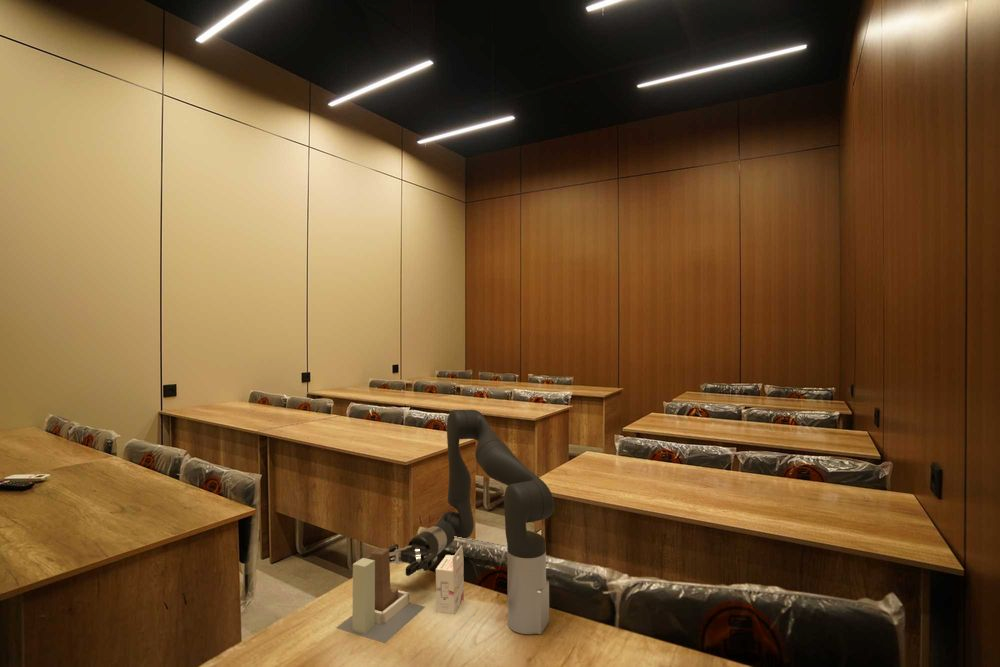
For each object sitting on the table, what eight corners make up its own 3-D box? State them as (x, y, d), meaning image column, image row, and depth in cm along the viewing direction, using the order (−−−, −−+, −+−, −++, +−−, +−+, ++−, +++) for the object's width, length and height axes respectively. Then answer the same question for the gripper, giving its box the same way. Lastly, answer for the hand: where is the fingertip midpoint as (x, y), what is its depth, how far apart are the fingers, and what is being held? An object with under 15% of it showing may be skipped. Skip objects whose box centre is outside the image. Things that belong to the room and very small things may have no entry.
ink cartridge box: (445, 599, 125) (445, 542, 125) (464, 601, 124) (464, 543, 124) (435, 617, 116) (434, 556, 117) (454, 619, 115) (454, 558, 116)
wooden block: (383, 617, 114) (381, 554, 114) (372, 615, 115) (370, 552, 115) (398, 604, 120) (396, 543, 120) (387, 602, 121) (385, 542, 122)
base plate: (425, 611, 119) (425, 596, 119) (384, 648, 104) (384, 631, 104) (380, 599, 125) (380, 585, 125) (335, 633, 110) (335, 616, 110)
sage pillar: (374, 625, 111) (374, 560, 111) (364, 634, 107) (364, 566, 108) (362, 622, 112) (363, 557, 113) (352, 630, 109) (352, 563, 109)
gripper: (407, 527, 138) (370, 549, 123) (449, 534, 132) (416, 558, 117) (407, 553, 137) (370, 578, 123) (450, 562, 132) (416, 589, 117)
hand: (392, 568), depth 120 cm, fingers open, 8 cm apart
